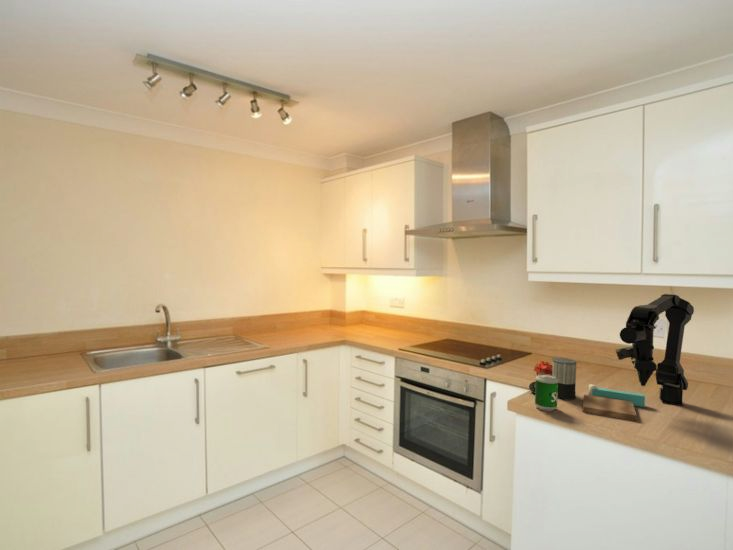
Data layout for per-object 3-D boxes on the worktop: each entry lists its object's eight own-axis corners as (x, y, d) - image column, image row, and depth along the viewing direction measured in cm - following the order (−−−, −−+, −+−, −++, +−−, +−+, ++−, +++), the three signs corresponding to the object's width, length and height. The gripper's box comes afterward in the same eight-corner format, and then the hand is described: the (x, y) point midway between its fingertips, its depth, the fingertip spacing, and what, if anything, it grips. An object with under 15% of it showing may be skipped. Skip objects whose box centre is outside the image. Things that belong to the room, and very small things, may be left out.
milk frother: (581, 400, 156) (582, 362, 156) (545, 401, 154) (546, 363, 154) (558, 388, 170) (559, 354, 170) (524, 390, 168) (525, 355, 168)
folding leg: (588, 398, 157) (588, 385, 157) (588, 396, 160) (588, 383, 160) (644, 407, 148) (645, 393, 148) (643, 404, 151) (644, 391, 151)
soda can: (546, 413, 141) (547, 379, 141) (530, 406, 148) (531, 374, 148) (561, 410, 144) (562, 377, 144) (545, 403, 151) (545, 372, 151)
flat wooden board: (632, 407, 149) (632, 401, 149) (636, 421, 135) (636, 415, 135) (583, 399, 157) (583, 394, 157) (582, 412, 143) (583, 406, 143)
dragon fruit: (536, 377, 193) (554, 388, 182) (525, 368, 190) (543, 379, 179) (546, 363, 194) (565, 373, 183) (536, 354, 191) (554, 364, 180)
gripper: (615, 335, 156) (614, 374, 157) (618, 343, 140) (617, 387, 140) (650, 338, 151) (649, 379, 151) (657, 346, 135) (656, 392, 135)
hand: (642, 384), depth 145 cm, fingers open, 5 cm apart
